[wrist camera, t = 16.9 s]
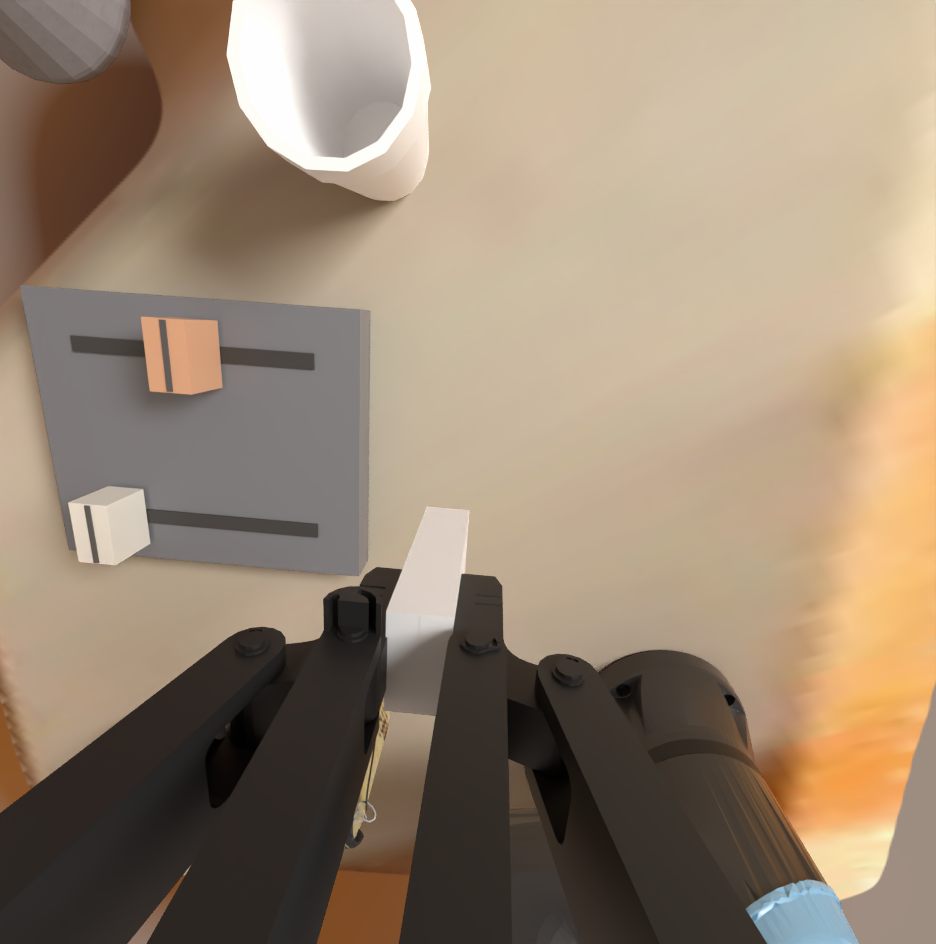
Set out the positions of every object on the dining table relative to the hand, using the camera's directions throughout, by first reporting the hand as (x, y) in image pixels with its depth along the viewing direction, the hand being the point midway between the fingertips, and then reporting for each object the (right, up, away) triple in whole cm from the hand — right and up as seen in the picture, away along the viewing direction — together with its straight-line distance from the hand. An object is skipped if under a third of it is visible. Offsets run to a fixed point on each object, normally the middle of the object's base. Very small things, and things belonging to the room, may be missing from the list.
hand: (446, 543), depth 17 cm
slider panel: (-21, +6, +25) cm, 33 cm away
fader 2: (-20, +12, +20) cm, 30 cm away
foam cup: (-5, +26, +18) cm, 32 cm away
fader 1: (-28, -1, +24) cm, 37 cm away
